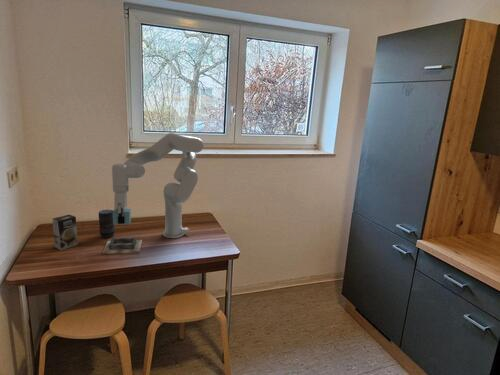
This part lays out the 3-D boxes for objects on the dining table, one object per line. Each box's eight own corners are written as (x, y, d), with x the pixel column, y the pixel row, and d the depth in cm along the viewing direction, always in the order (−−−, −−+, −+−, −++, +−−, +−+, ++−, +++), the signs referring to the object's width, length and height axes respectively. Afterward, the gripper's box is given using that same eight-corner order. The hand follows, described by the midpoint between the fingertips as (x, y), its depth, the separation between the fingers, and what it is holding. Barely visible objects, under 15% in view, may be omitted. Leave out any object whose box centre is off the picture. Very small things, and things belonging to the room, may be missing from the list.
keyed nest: (142, 241, 186) (142, 235, 185) (139, 252, 172) (139, 246, 172) (108, 242, 182) (107, 236, 181) (102, 253, 169) (102, 247, 168)
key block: (115, 221, 175) (114, 208, 173) (130, 221, 177) (130, 208, 175) (113, 224, 170) (112, 211, 169) (129, 224, 172) (129, 211, 170)
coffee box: (61, 250, 169) (58, 221, 165) (54, 247, 173) (51, 218, 169) (78, 244, 177) (76, 216, 173) (71, 241, 180) (69, 213, 176)
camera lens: (117, 234, 194) (116, 209, 190) (110, 239, 186) (109, 214, 182) (104, 232, 194) (103, 208, 190) (97, 238, 186) (95, 213, 183)
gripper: (116, 183, 176) (117, 216, 181) (109, 192, 160) (111, 227, 165) (130, 183, 178) (131, 215, 182) (126, 192, 162) (127, 227, 166)
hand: (122, 221), depth 173 cm, fingers closed on key block, 5 cm apart
